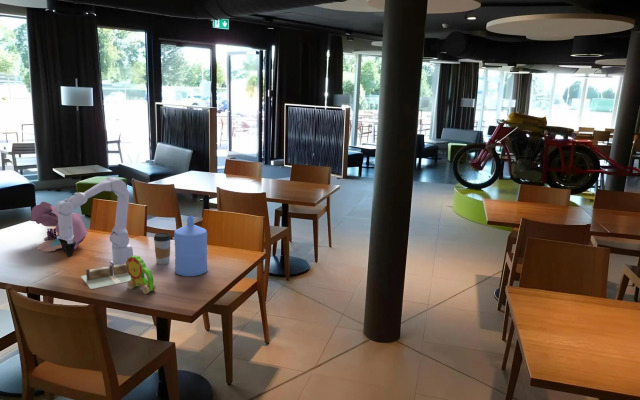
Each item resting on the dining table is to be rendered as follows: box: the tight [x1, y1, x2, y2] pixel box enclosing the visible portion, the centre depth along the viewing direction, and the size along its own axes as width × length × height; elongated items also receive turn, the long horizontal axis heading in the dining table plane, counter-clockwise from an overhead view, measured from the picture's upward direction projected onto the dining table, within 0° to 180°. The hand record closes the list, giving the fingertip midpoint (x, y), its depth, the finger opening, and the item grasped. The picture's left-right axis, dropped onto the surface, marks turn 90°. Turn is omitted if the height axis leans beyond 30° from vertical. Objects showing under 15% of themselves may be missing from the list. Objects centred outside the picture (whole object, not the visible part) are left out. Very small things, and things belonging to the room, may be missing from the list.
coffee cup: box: [153, 232, 172, 265], centre depth 250 cm, size 8×8×15 cm
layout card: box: [80, 269, 131, 290], centre depth 230 cm, size 24×18×1 cm
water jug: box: [173, 215, 208, 277], centre depth 239 cm, size 16×16×28 cm
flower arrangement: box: [30, 201, 88, 252], centre depth 266 cm, size 35×24×28 cm
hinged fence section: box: [85, 266, 110, 280], centre depth 227 cm, size 10×2×5 cm, turn 129°
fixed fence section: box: [109, 263, 128, 276], centre depth 234 cm, size 12×2×5 cm, turn 129°
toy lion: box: [126, 255, 157, 295], centre depth 217 cm, size 16×6×15 cm, turn 58°
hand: (68, 254), depth 230 cm, fingers open, 7 cm apart
